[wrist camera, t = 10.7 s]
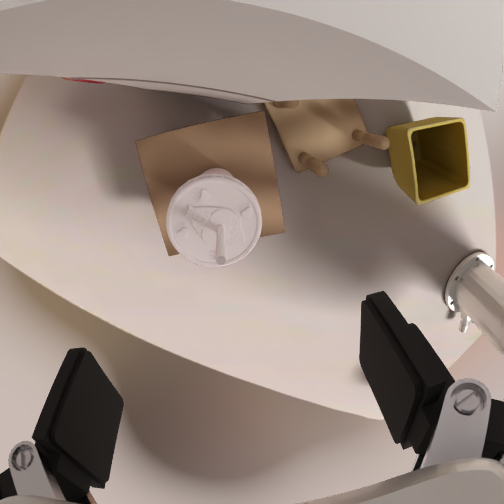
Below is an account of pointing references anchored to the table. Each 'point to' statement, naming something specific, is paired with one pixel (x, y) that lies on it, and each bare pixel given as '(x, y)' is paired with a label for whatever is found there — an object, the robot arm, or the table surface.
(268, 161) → the stool
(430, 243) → the table surface
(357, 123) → the upturned stool
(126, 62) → the display case
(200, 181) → the smoothie
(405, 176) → the flower pot
